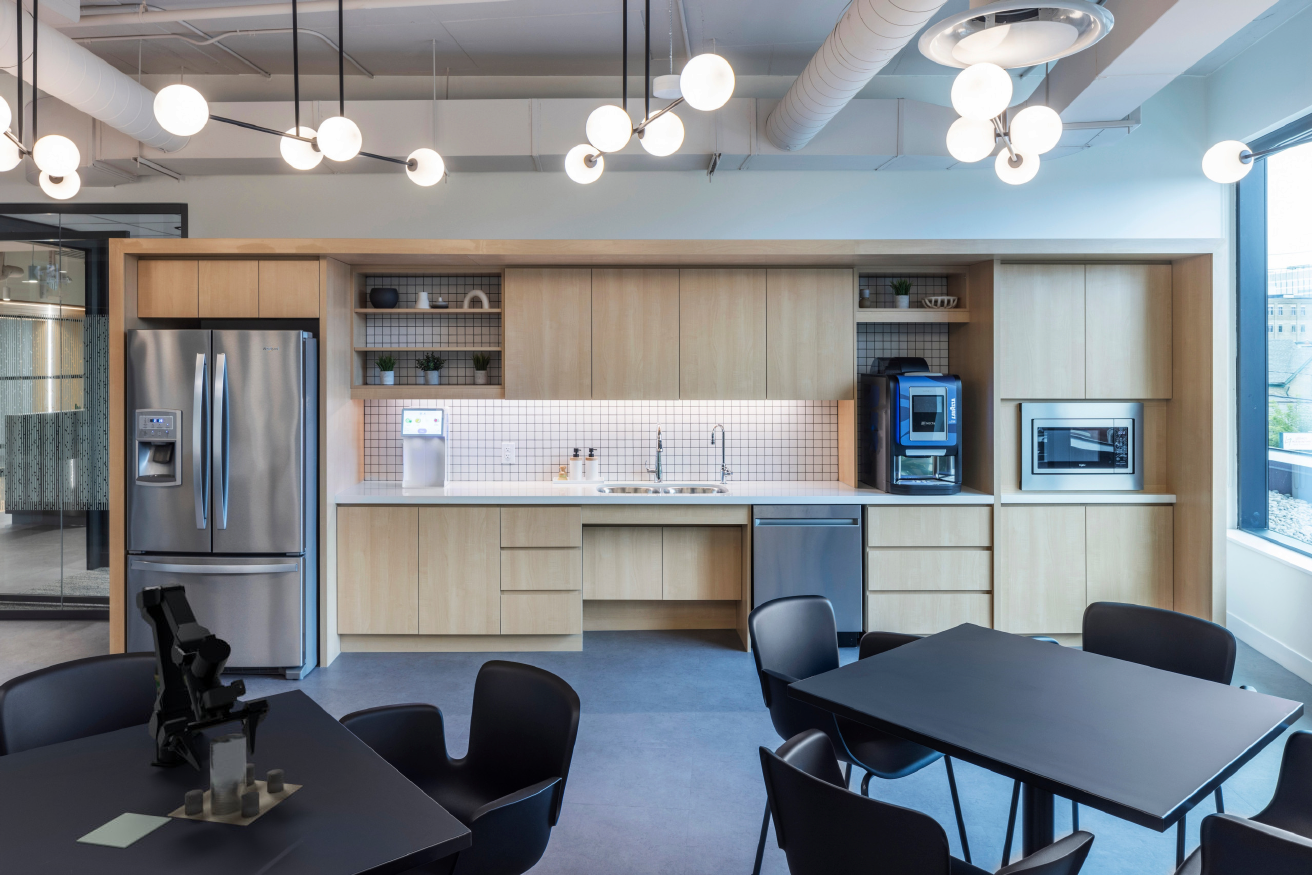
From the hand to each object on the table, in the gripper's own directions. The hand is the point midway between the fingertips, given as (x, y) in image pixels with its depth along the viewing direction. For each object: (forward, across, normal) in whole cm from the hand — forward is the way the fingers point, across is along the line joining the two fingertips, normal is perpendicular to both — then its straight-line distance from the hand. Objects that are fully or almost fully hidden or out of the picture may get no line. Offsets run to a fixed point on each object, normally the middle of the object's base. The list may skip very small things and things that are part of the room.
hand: (227, 761), depth 149 cm
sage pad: (+4, -16, +9) cm, 19 cm away
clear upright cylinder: (+6, 0, +6) cm, 9 cm away
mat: (+6, +2, +7) cm, 10 cm away
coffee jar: (-27, +5, +40) cm, 48 cm away
